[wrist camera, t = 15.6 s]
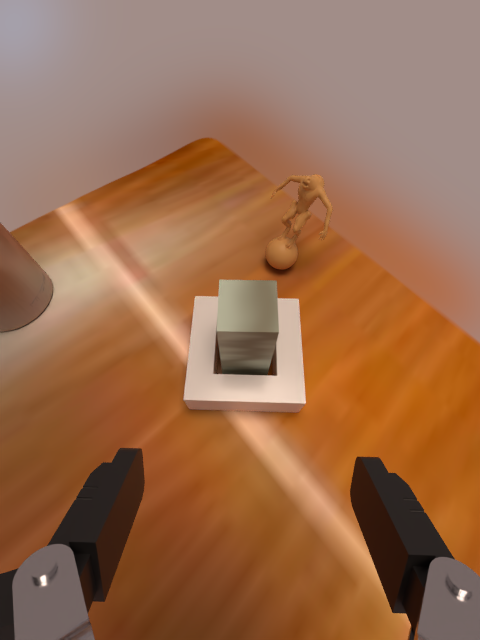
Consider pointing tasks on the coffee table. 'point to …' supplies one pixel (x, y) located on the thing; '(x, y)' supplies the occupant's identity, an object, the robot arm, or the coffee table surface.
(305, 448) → the coffee table surface
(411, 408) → the coffee table surface
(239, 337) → the green metallic peg
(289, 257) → the figurine
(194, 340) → the white well block
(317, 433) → the coffee table surface
